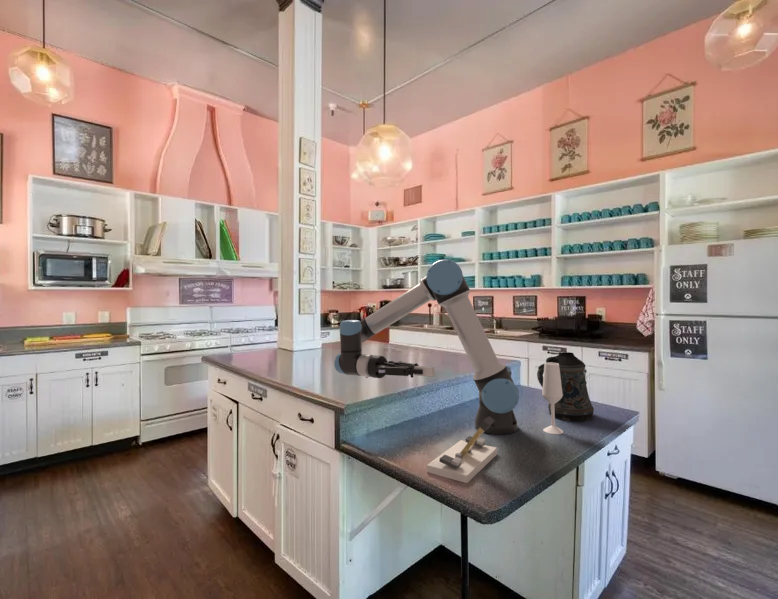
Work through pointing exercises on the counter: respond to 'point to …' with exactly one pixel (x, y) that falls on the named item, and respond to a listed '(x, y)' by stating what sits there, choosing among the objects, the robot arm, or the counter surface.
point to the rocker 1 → (451, 461)
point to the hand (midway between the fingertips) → (433, 372)
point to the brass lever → (477, 434)
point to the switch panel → (463, 462)
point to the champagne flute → (552, 392)
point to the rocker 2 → (477, 442)
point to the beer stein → (570, 389)
